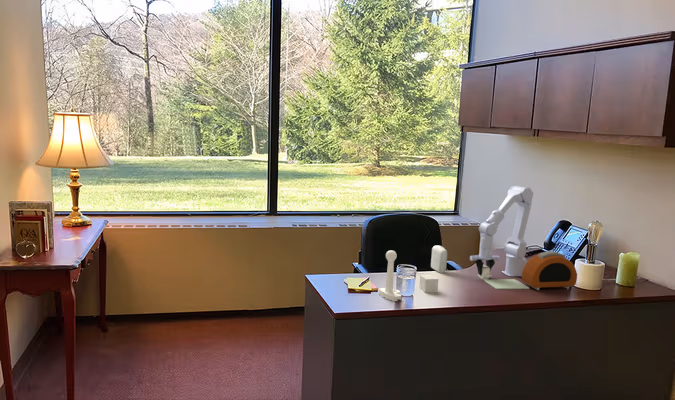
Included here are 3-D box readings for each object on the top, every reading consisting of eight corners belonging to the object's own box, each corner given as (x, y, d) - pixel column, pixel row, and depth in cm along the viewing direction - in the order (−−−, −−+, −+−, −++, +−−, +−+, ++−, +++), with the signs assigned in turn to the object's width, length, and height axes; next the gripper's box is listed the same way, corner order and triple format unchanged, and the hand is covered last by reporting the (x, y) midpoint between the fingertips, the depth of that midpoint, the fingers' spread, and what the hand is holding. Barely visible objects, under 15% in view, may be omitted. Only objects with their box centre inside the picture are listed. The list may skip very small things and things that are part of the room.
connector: (482, 275, 255) (483, 264, 254) (492, 281, 245) (493, 270, 244) (476, 275, 255) (477, 264, 254) (486, 281, 244) (487, 270, 243)
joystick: (376, 294, 220) (379, 247, 217) (390, 291, 224) (393, 246, 221) (392, 302, 210) (395, 254, 207) (407, 299, 214) (410, 252, 212)
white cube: (424, 292, 225) (425, 279, 224) (419, 288, 230) (420, 275, 230) (437, 292, 226) (438, 278, 225) (431, 287, 232) (432, 274, 231)
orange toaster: (531, 290, 234) (535, 254, 231) (520, 284, 242) (523, 249, 240) (576, 289, 239) (580, 254, 237) (563, 283, 248) (567, 249, 245)
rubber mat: (514, 280, 249) (514, 279, 249) (529, 288, 236) (529, 287, 236) (483, 280, 246) (483, 279, 246) (496, 289, 234) (496, 288, 233)
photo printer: (447, 272, 256) (448, 248, 254) (439, 273, 255) (441, 248, 253) (437, 267, 266) (438, 243, 264) (429, 267, 265) (431, 243, 263)
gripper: (475, 249, 243) (472, 277, 245) (504, 249, 246) (501, 277, 248) (469, 245, 250) (466, 273, 252) (497, 245, 253) (494, 272, 255)
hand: (483, 274), depth 251 cm, fingers closed on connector, 3 cm apart
